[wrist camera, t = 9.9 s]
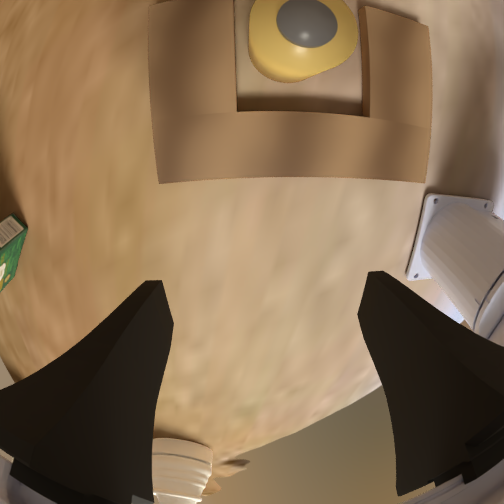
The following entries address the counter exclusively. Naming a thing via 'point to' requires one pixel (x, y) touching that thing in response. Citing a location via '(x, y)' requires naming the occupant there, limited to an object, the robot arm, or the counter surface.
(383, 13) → the brown u-shaped board
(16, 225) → the coffee box
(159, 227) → the counter surface
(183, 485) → the honey pot
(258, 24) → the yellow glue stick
